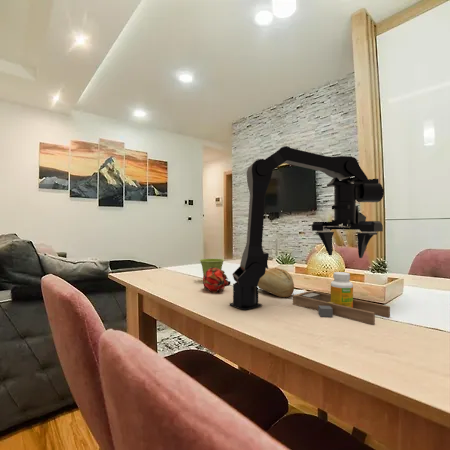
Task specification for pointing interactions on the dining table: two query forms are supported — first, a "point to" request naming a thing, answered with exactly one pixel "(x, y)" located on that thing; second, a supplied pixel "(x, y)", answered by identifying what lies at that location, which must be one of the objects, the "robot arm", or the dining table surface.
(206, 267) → the plant pot
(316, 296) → the steel counterweight
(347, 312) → the walnut beam
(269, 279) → the bread roll
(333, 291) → the supplement bottle
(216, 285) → the dragon fruit
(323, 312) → the gray block
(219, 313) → the dining table surface
